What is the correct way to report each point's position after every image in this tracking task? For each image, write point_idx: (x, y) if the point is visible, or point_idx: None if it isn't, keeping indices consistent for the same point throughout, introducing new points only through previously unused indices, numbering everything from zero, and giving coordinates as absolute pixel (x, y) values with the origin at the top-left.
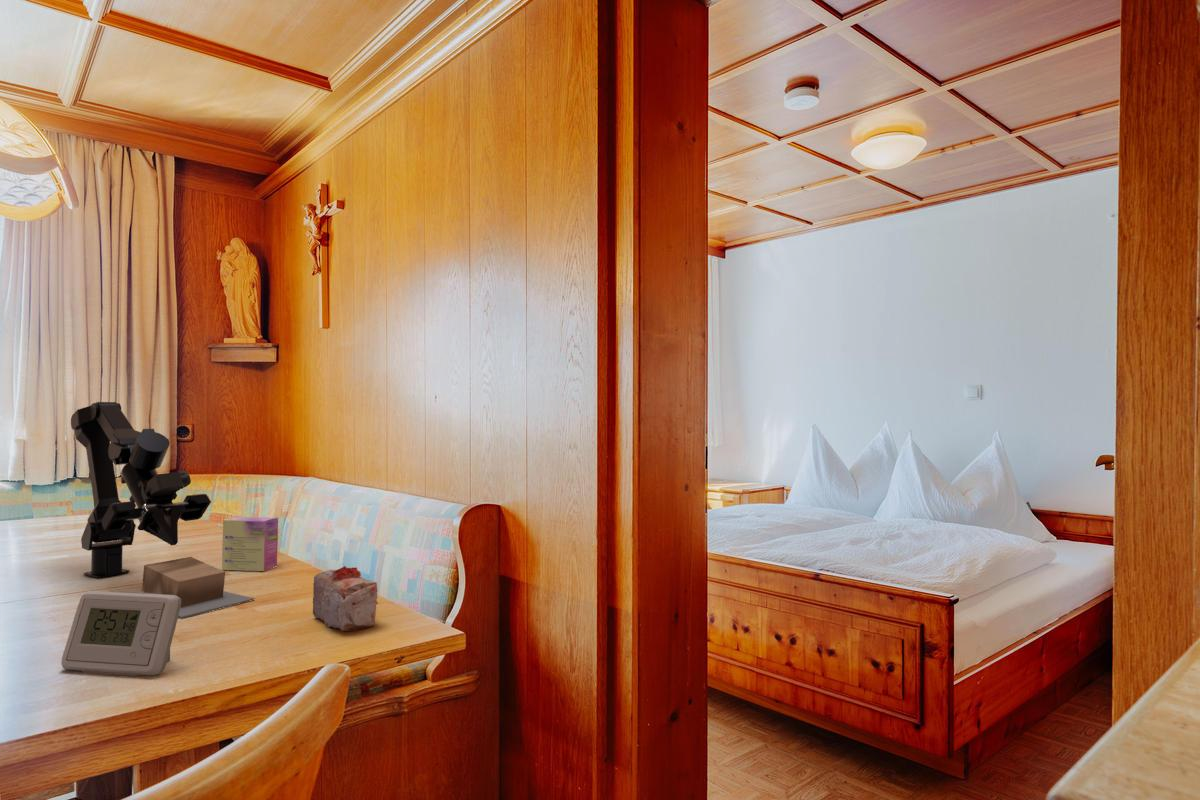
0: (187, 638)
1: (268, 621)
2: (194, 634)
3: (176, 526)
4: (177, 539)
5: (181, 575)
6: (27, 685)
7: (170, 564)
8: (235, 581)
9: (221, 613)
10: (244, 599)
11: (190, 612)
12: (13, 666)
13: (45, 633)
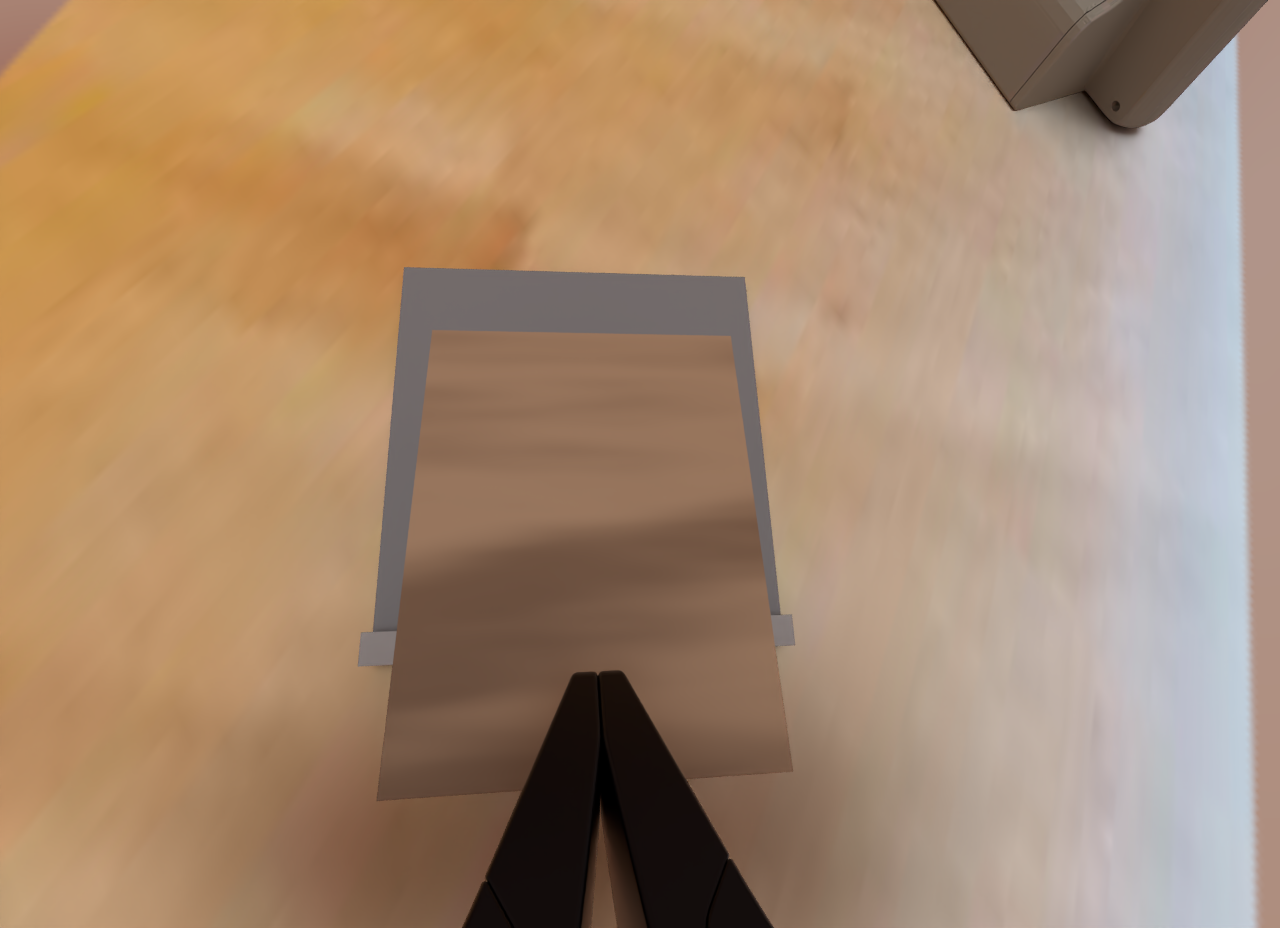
0: (826, 91)
1: (575, 25)
2: (795, 104)
3: (502, 883)
4: (568, 692)
5: (672, 412)
6: (1206, 106)
7: (624, 671)
8: (130, 749)
9: (611, 226)
10: (443, 286)
11: (696, 300)
12: (1232, 262)
13: (1144, 534)
